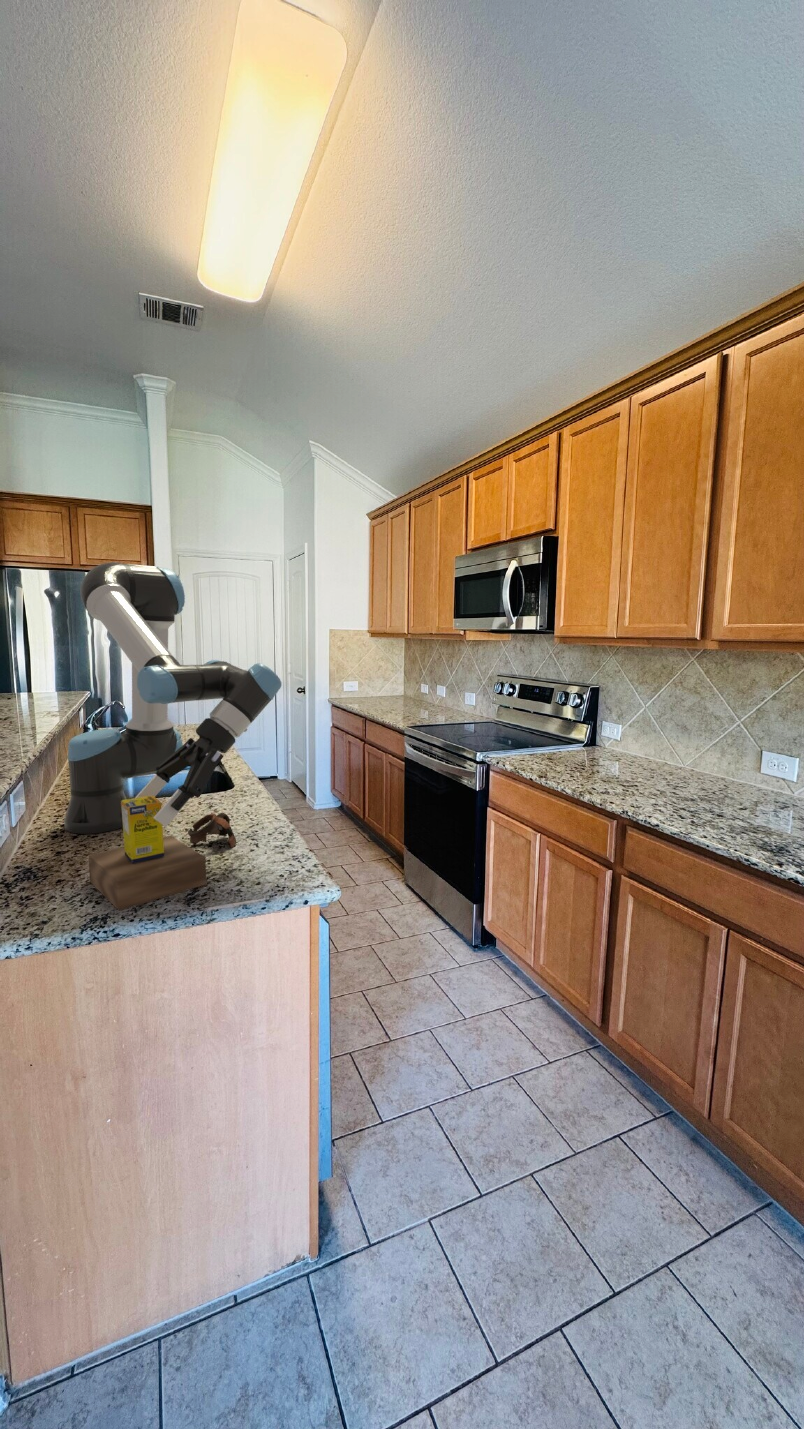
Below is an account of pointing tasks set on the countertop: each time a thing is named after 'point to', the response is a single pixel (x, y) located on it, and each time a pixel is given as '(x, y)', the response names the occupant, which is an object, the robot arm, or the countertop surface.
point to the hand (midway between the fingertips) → (148, 813)
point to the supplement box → (142, 829)
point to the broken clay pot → (212, 828)
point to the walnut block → (146, 874)
